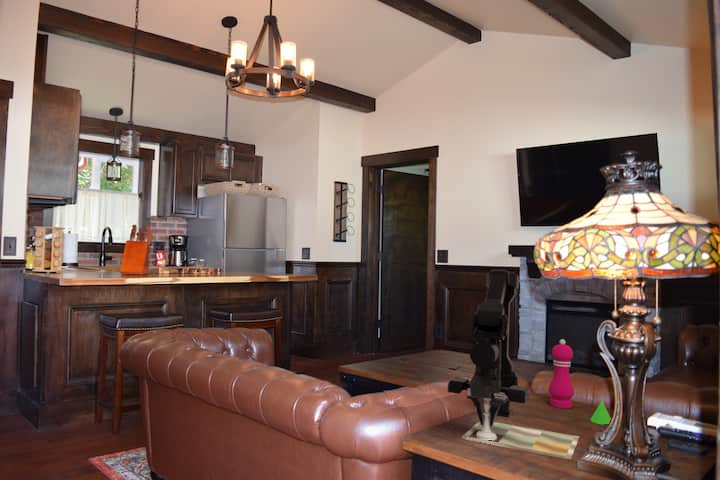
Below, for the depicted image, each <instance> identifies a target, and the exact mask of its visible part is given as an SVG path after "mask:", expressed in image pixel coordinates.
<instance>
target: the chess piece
mask: <svg viewBox="0 0 720 480" xmlns="http://www.w3.org/2000/svg"><path fill="white" fill-rule="evenodd" d="M484 401H486V402H484V403H483V406H484V412H483V415H484V427H483V429H482V431H477V432H476V435H475V438H478V439H483V440H492V441H496V440H497V439H498V436H497V435H498V434H495V433H493V432H491V430H490V423H489V421H490V416H491V413H490V412H489V411H490V408H491V406H492V404H491V403H489V401H491V398H484Z"/></svg>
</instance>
